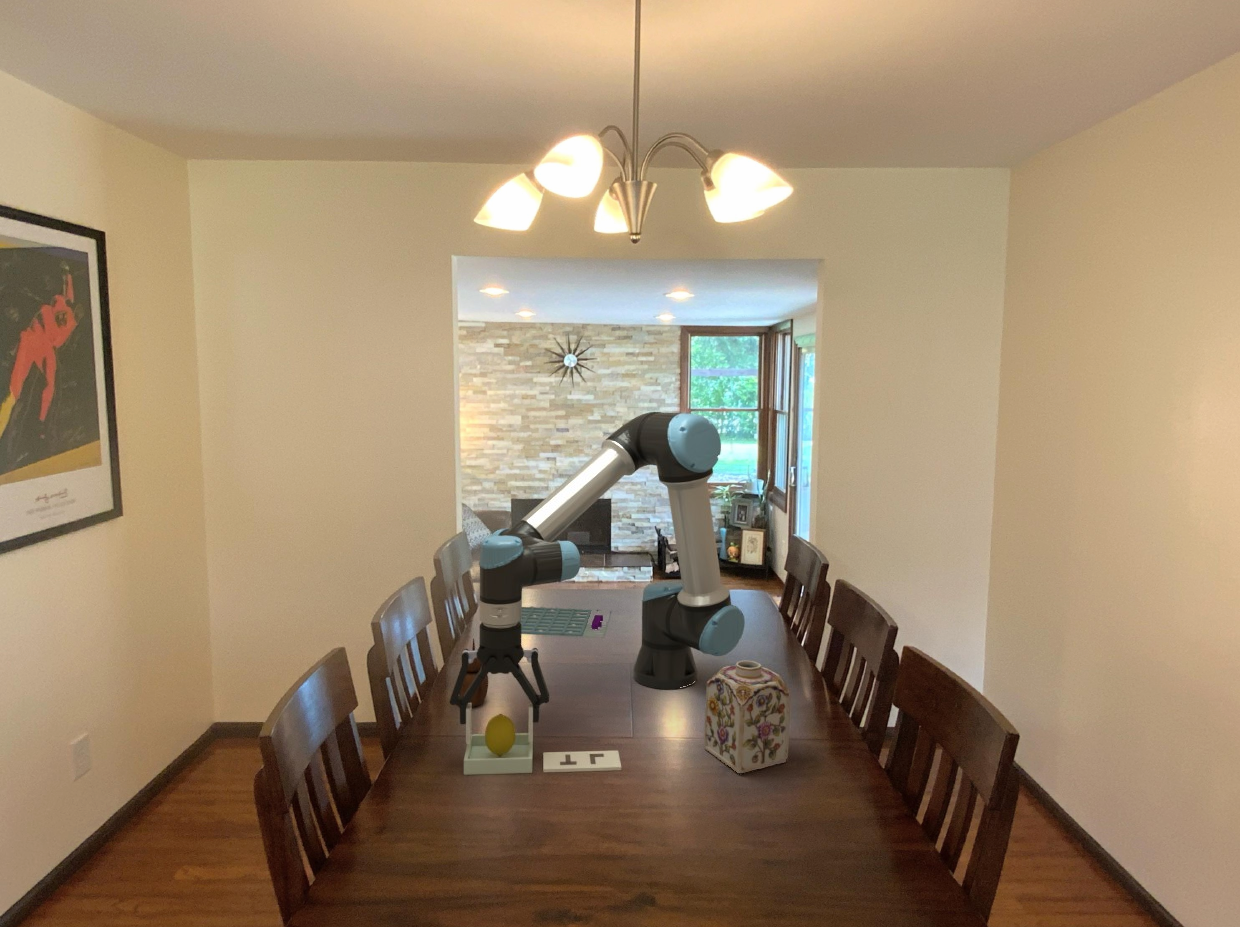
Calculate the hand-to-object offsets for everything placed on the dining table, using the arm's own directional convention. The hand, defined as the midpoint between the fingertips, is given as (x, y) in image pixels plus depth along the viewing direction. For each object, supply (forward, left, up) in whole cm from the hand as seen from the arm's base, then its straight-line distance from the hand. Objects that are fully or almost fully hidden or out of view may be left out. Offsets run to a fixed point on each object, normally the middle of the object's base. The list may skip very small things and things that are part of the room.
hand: (499, 739), depth 142 cm
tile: (-15, +2, -4) cm, 16 cm away
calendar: (-13, -85, -5) cm, 86 cm away
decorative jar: (-46, +1, -4) cm, 46 cm away
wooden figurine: (+7, -26, -4) cm, 27 cm away
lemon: (0, 0, -3) cm, 3 cm away
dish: (0, 0, -4) cm, 4 cm away
